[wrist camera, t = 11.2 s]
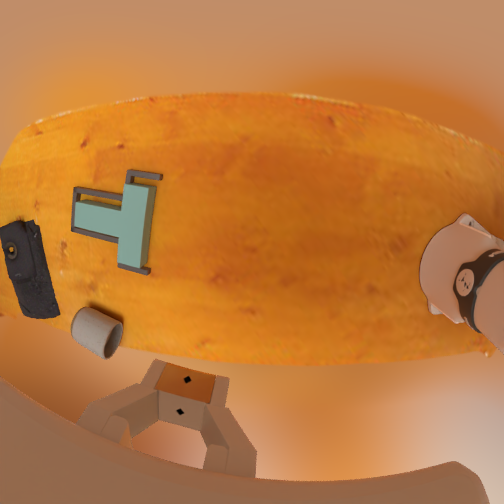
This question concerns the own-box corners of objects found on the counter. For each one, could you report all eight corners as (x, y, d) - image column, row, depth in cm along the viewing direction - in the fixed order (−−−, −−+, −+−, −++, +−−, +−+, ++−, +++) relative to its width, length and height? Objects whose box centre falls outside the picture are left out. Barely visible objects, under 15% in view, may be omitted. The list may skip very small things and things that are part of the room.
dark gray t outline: (162, 174, 38) (160, 174, 37) (150, 272, 43) (147, 275, 41) (80, 163, 38) (76, 163, 37) (74, 251, 42) (70, 253, 41)
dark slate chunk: (25, 313, 49) (13, 321, 44) (2, 223, 42) (-12, 228, 38) (65, 318, 48) (52, 329, 43) (39, 214, 41) (23, 219, 37)
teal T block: (156, 186, 39) (148, 188, 36) (147, 262, 42) (139, 268, 39) (88, 175, 39) (78, 176, 36) (83, 244, 42) (73, 249, 39)
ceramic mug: (88, 297, 45) (66, 317, 38) (124, 314, 45) (105, 337, 38) (88, 339, 48) (69, 360, 41) (121, 355, 48) (105, 379, 41)
